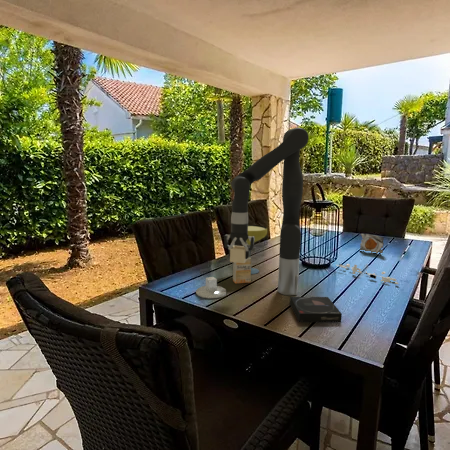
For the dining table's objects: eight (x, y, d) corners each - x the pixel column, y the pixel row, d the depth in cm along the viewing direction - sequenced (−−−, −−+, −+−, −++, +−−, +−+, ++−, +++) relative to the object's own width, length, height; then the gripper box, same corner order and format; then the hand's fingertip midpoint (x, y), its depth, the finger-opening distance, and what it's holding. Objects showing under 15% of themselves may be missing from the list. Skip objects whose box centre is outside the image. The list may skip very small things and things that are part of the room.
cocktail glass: (227, 273, 187) (228, 228, 182) (241, 264, 203) (242, 223, 198) (258, 278, 179) (259, 232, 174) (270, 269, 194) (272, 226, 190)
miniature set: (331, 269, 194) (340, 268, 203) (396, 289, 170) (403, 287, 179) (334, 258, 193) (343, 258, 202) (399, 277, 170) (406, 275, 179)
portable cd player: (326, 305, 149) (327, 296, 148) (340, 323, 132) (341, 313, 131) (289, 304, 148) (290, 296, 147) (298, 323, 131) (299, 313, 131)
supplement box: (235, 284, 170) (235, 259, 168) (232, 280, 175) (233, 256, 173) (250, 282, 173) (251, 258, 170) (247, 279, 177) (248, 255, 175)
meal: (358, 252, 234) (359, 234, 231) (360, 251, 237) (361, 233, 235) (381, 256, 225) (383, 237, 223) (383, 255, 228) (385, 236, 226)
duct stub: (217, 285, 168) (217, 272, 167) (231, 295, 156) (231, 281, 155) (191, 290, 162) (191, 276, 160) (203, 300, 149) (203, 285, 148)
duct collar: (247, 259, 156) (247, 246, 155) (244, 263, 150) (244, 250, 149) (233, 257, 158) (233, 245, 157) (229, 261, 152) (230, 248, 151)
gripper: (257, 221, 152) (255, 257, 155) (226, 219, 156) (225, 254, 159) (254, 224, 145) (252, 261, 148) (221, 222, 149) (221, 258, 152)
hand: (238, 257), depth 154 cm, fingers closed on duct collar, 6 cm apart
